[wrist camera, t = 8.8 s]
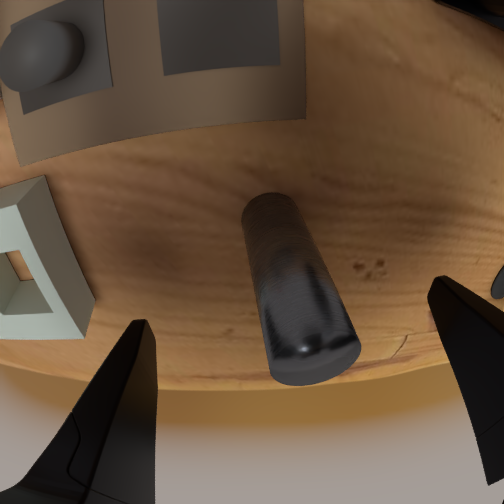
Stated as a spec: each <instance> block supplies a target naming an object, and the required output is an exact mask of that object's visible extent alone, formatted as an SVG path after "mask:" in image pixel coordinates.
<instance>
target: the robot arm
mask: <svg viewBox="0 0 504 504" xmlns="http://www.w3.org/2000/svg"><path fill="white" fill-rule="evenodd" d="M435 1H436V2H438V3H440V4H442V5H445V6H448V7H450V8H453V9H456V10H458V11H461V12H463V13H466V14H468V15H470V16H473V17H475V18H477V19H479V20H482V21H484V22H486V23H488V24H490V25H492V26H494V27H496V28H498V29H500V30H502V31H504V0H435ZM427 300H428V304H429V307H430V309H431V312H432V315H433V318H434V321H435V324H436V327H437V330H438V333H439V336H440V339H441V342H442V344H443V347H444V349H445V352H446V354H447V356H448V359H449V361H450V364H451V366H452V369H453V372H454V374H455V377H456V379H457V382H458V385H459V388H460V390H461V393H462V396H463V399H464V402H465V405H466V408H467V411H468V414H469V417H470V420H471V423H472V427H473V430H474V433H475V437H476V441H477V444H478V448H479V452H480V456H481V459H482V464H483V468H484V472H485V476H486V481H487V484H488V485H491V484H493V483H495V482H497V481H499V480H501V479H503V478H504V312H503V311H501V310H500V309H498V308H497V307H495V306H494V305H492V304H491V303H489V302H488V301H486V300H485V299H483V298H482V297H480V296H478V295H477V294H475V293H474V292H472V291H471V290H469V289H467V288H466V287H464V286H463V285H461V284H459V283H458V282H456V281H454V280H453V279H451V278H449V277H448V276H445V275H443V276H438V277H435V278H434V280H433V282H432V285H431V287H430V290H429V292H428V296H427ZM157 394H158V384H157V362H156V341H155V337H154V334H153V332H152V330H151V327H150V325H149V323H148V321H147V320H146V319H138V320H133V321H132V322H131V323H130V324H129V326H128V327H127V329H126V330H125V332H124V333H123V334H122V336H121V337H120V339H119V340H118V342H117V343H116V344H115V346H114V347H113V349H112V350H111V352H110V353H109V355H108V356H107V358H106V359H105V360H104V362H103V363H102V365H101V366H100V368H99V369H98V371H97V372H96V374H95V375H94V377H93V378H92V380H91V381H90V383H89V384H88V386H87V388H86V389H85V391H84V392H83V394H82V395H81V397H80V398H79V400H78V401H77V403H76V405H75V406H74V408H73V409H72V412H70V414H69V415H68V417H67V418H66V420H65V422H64V423H63V425H62V426H61V428H60V429H59V431H58V433H57V434H56V435H55V437H54V438H53V439H52V441H51V442H50V444H49V445H48V446H47V448H46V449H45V450H44V452H43V453H42V454H41V456H40V457H39V458H38V459H37V461H36V462H35V463H34V465H33V466H32V467H31V469H30V470H29V471H28V473H27V474H26V475H25V476H24V478H23V479H22V480H21V481H20V482H18V483H17V484H16V485H14V486H13V487H11V488H9V489H6V490H4V491H2V492H0V504H155V440H156V415H157V396H158V395H157ZM502 504H504V500H503V503H502Z"/></svg>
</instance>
